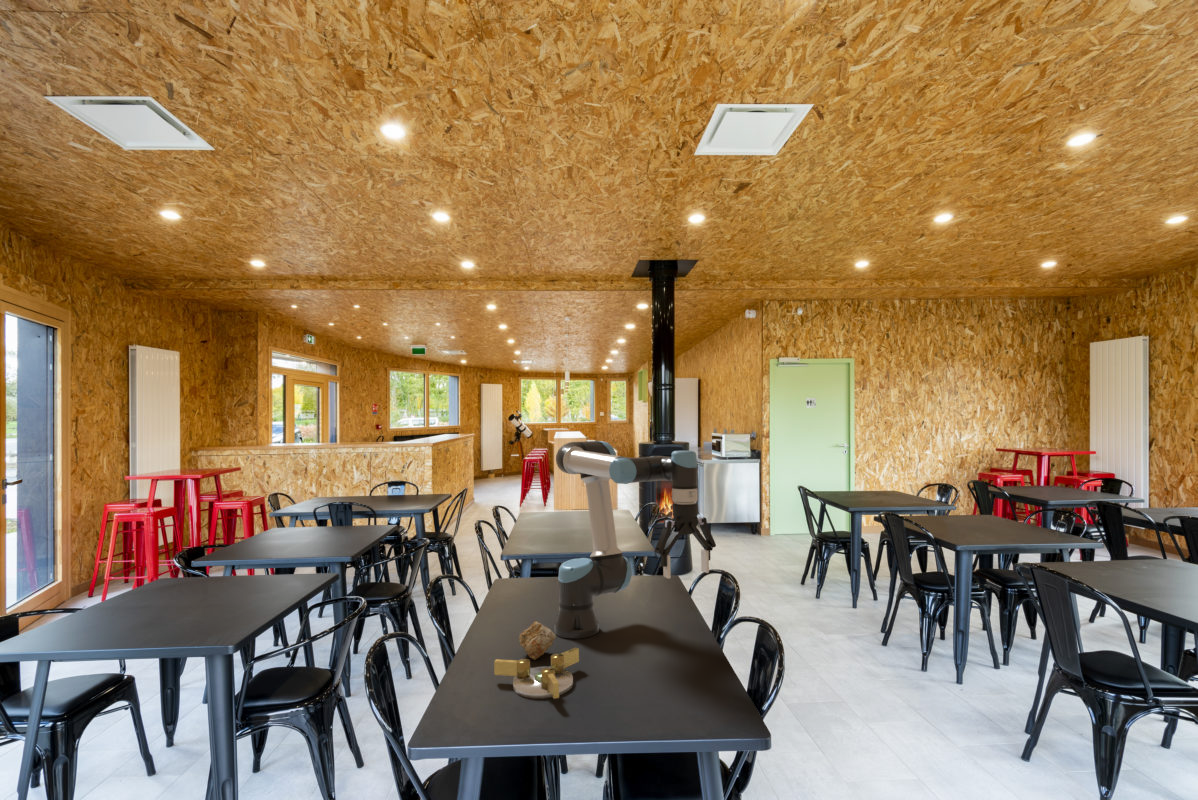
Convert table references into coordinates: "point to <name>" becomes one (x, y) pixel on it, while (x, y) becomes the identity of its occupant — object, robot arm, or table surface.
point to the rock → (536, 640)
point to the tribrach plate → (533, 684)
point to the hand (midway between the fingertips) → (686, 574)
